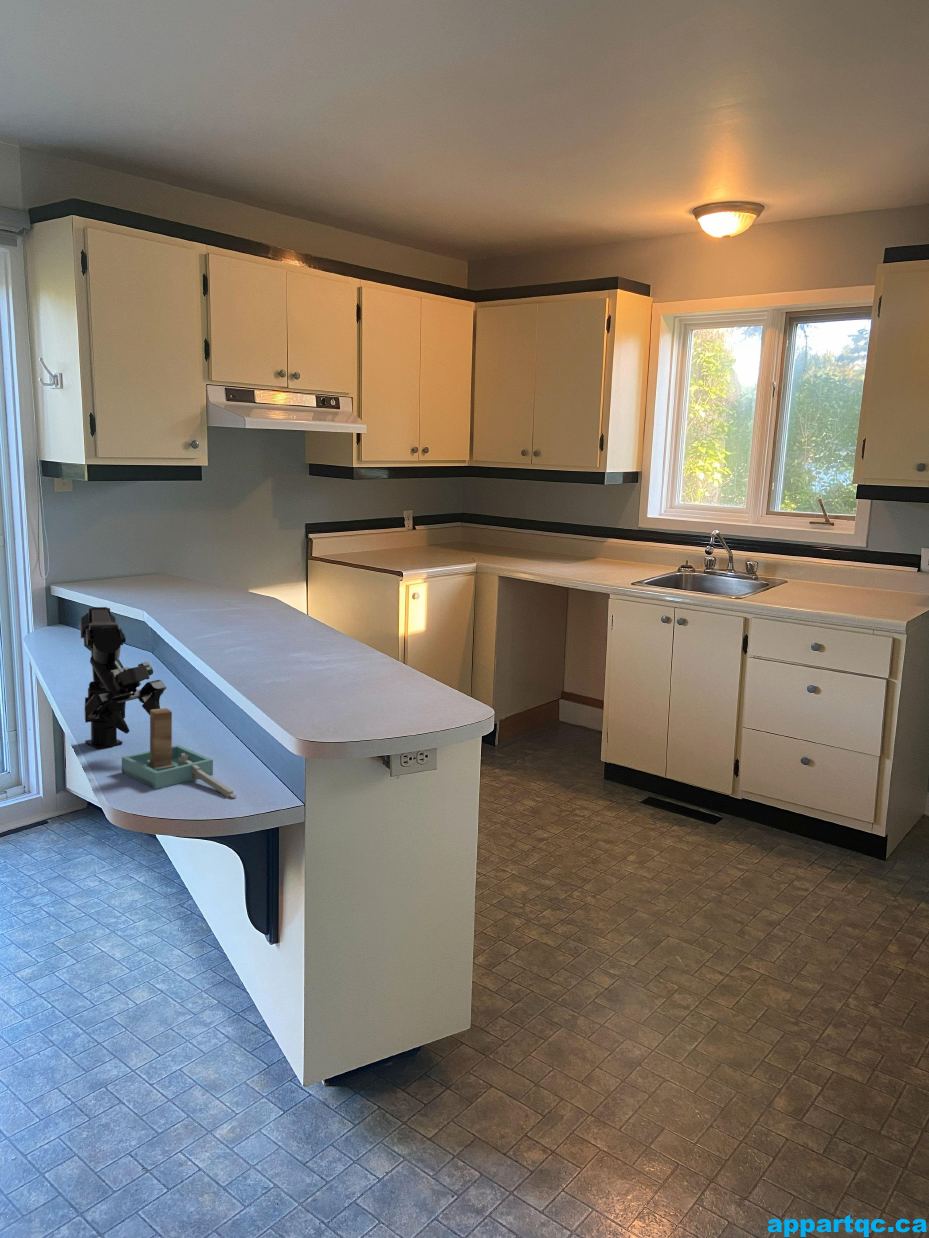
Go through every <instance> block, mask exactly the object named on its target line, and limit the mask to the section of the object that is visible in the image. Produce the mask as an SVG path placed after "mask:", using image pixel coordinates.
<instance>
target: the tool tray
mask: <svg viewBox="0 0 929 1238" xmlns="http://www.w3.org/2000/svg"><path fill="white" fill-rule="evenodd" d="M182 753H185V755H188V760H190V761H191V762H193V763H190V764H186V765H182V766H178V761H179V757H181V754H182ZM146 760H150V750H148V751H145V752H139V753H134V754H130V755H126V756H122V757H121V773H122V772H123V773H122V774H124V773H125V774H124V775H126V776H128V775H129V777H130V778H132V777H133V779H134V780H136V779H137V781H138V782H141V783H143V784H144V783H145V784H144V785H146V784H147V786H149V787H151V788H153V789H155V790H159V789H163V788H167V787H171V786H175V785H177V784H182V783H186V782H190V781H193V780H195V779H194V778H193V777H192V766H193V765H197V766H199V767H200V770H202V771H203V772H205V773H206V774H208V775H210V776H212V775H214V760H213V759H212V758H210V757H207V756H205V755H203V754H201V753H198V752H196V751H194V750H191V749H189V748H187V747H184V746H181V745H179V744H176V745H172V763H173V764H174V765H175V767H174V768H169V769H165V770H161V771H156V770H154V769H152V768H150V767H148V766H146Z"/></svg>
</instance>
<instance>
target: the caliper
mask: <svg viewBox="0 0 929 1238" xmlns="http://www.w3.org/2000/svg"><path fill="white" fill-rule="evenodd" d="M190 763H193V762H191V761H190V760H188V755H185V753H182V754H181V757H179V761H178V766H182V765H186V764H190ZM192 777H193V778H194V780H197V779H199V780H200V781H202V782H204V783H205V784H207V785H208V786H210V787H211V788H212V789H214V790H216V791H217V792H218V793H220V794H221V795H223V796H225V797H227V798H231V799H233V798H234V799H235V798H237V794H235V793H234V790H232V789H231V788H229V787H228V786H226V785H224V784H223V782H220V781H219V780H217V779H216V778H214V777H213V776H212V775H208V774H206V773H205V772H203V771H202V770H200V767H199V766H197V765H193V766H192Z"/></svg>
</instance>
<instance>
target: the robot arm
mask: <svg viewBox="0 0 929 1238" xmlns="http://www.w3.org/2000/svg"><path fill="white" fill-rule="evenodd" d="M79 628H80V630H79V631H80V639H83V646H84V647H85V648H86V649H87V650H88V651H90V658H89V663H90V665H91V667H92V668H91V669H92V681H90V682H89V684H88V688H87V697H84V707H83V708H84V709H83V710H84V721H85V723H90V739H86V740H84V743H85V744H87V745H89V746H92V747H93V748H95V749H104V748H108V747H113V746H118V745H119V746H120V745H123V743H124V742H123V741H122V740H120V739H118V737H117V736H118V735H117V733H118V732H117V731H118V730H119V731H120V732H123V733H124V734H125V735H126V734H129V733H130V729H129V726H128V724H127V723H126V721H125V719H126V704H127V703H126V702H129V701H133V700H138V701H139V702H140V703H142V704H141V707H142V708H143V709H144V710H145V711H146V713H147V714H148V715H149V716H150V710H152V709H161V705H160V703H161V702H160V699H161V696H162V695H163V694H164V692H165V690H166V689H167V686H166V685H165V682H164V681H163V680H160V679H155V680H151V681H148V682H146V683H145V684H144V685H143V686H142V687H141V688H140V686H141V685H142V683H141V682H142V681H144V680H150V676H152V675H153V674H154V670H153V667H152V665H151V664H150V662H149V661H144V662H141V663H139V664H137V666H135V667H128V666H126V667H124V666H123V664H122V662H121V661H120V656H121V655H120V654H121V647H122V646H124V644H125V643H126V640H127V639H126V636H125V633H124V632H123V630H122V628H120V627H119V624H118V622H117V620H116V616H114V615H113V614H112V613H111V608H110V607H107V606H102V607H101V606H98V607H97V606H92V607H89V608H88V612H87V613H86V614H85V615H83V616H82V617H81V618H80V627H79ZM137 688H140V689H137Z"/></svg>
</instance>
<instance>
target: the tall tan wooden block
mask: <svg viewBox="0 0 929 1238" xmlns="http://www.w3.org/2000/svg"><path fill="white" fill-rule="evenodd" d="M172 715H173V712H172V711H171V710H170V709H169V708H167V707H163V708H162V707H161V708H160V709H152V710H150V715H149V728H150V729H149V731H150V732H149V751H150V760H146V766H148V767H150V768H152V769H154V770H156V771H161V770H165V769H169V768H174V767H175V765H174V764H173V763H172V746H173V745H172V741H173V740H172V735H173V733H172V731H173V730H172V729H173V728H172V726H173V724H172V723H173V719H172V718H173V716H172Z"/></svg>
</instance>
